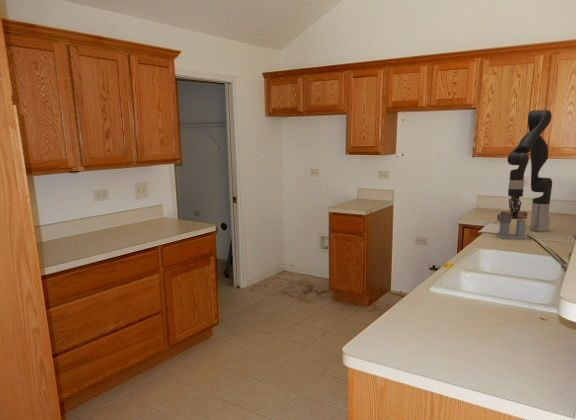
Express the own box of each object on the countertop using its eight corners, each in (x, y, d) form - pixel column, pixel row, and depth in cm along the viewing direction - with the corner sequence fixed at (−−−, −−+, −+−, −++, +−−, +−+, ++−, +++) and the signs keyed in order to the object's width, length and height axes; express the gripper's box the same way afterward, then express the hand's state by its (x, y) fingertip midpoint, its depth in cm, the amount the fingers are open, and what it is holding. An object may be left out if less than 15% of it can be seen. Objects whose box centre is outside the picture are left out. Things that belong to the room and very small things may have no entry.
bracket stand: (523, 236, 241) (525, 214, 239) (529, 239, 234) (530, 216, 232) (496, 235, 244) (497, 213, 242) (500, 238, 236) (501, 215, 235)
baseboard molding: (475, 233, 255) (496, 235, 248) (475, 228, 254) (497, 230, 248) (485, 225, 280) (504, 227, 273) (485, 221, 279) (505, 223, 273)
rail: (523, 218, 238) (524, 211, 238) (526, 219, 235) (527, 212, 234) (500, 217, 240) (500, 211, 239) (503, 219, 236) (503, 212, 235)
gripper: (527, 189, 227) (525, 219, 230) (518, 187, 241) (516, 215, 243) (512, 189, 228) (510, 219, 231) (504, 186, 242) (502, 215, 245)
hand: (513, 217), depth 237 cm, fingers closed on rail, 4 cm apart
